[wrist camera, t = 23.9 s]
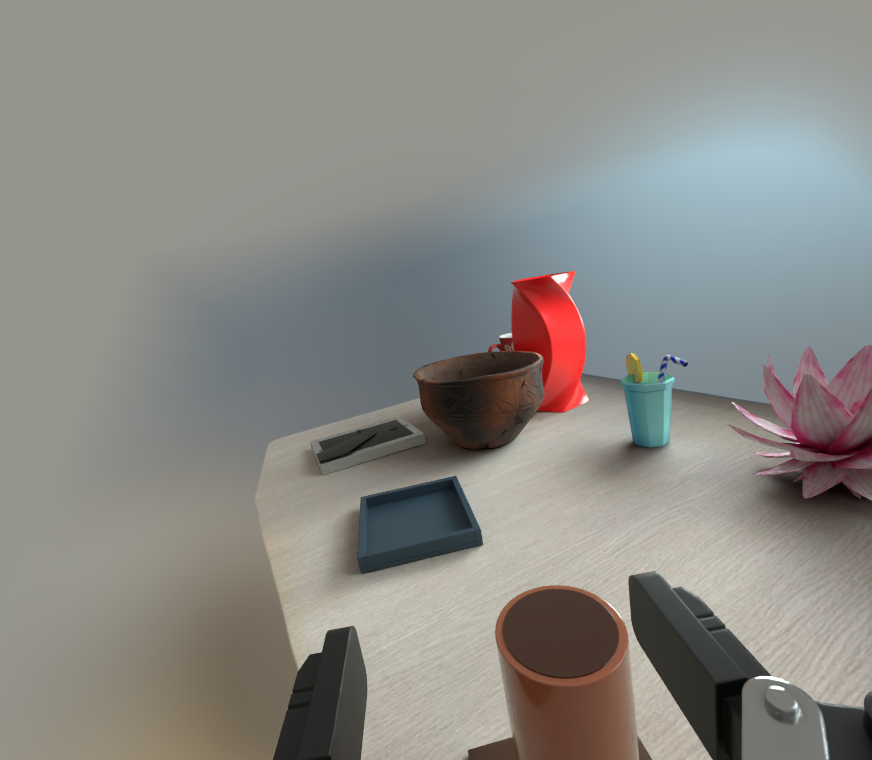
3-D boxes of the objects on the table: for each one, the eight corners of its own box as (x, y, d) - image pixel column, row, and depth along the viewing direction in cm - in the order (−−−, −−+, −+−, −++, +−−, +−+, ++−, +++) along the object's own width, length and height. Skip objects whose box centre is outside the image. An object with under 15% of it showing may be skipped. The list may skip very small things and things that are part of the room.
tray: (361, 574, 51) (357, 558, 51) (363, 509, 66) (360, 496, 66) (483, 544, 53) (480, 529, 52) (458, 488, 68) (456, 475, 67)
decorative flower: (814, 433, 65) (816, 332, 62) (1035, 495, 45) (1055, 350, 42) (690, 469, 61) (685, 364, 58) (870, 555, 41) (878, 400, 38)
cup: (711, 450, 66) (708, 351, 63) (668, 464, 64) (662, 363, 61) (643, 425, 79) (638, 342, 76) (606, 436, 77) (599, 352, 74)
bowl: (575, 420, 87) (567, 344, 84) (512, 473, 69) (498, 380, 66) (472, 412, 104) (462, 349, 100) (399, 454, 86) (384, 378, 82)
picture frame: (322, 475, 82) (426, 443, 89) (319, 461, 81) (423, 429, 88) (312, 450, 96) (401, 424, 104) (309, 438, 96) (399, 413, 103)
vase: (598, 404, 94) (586, 270, 88) (534, 419, 92) (517, 282, 86) (566, 389, 108) (554, 273, 102) (510, 401, 106) (494, 284, 100)
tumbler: (506, 844, 25) (470, 649, 22) (553, 742, 29) (529, 571, 27) (627, 936, 21) (602, 711, 18) (659, 800, 25) (643, 606, 23)
